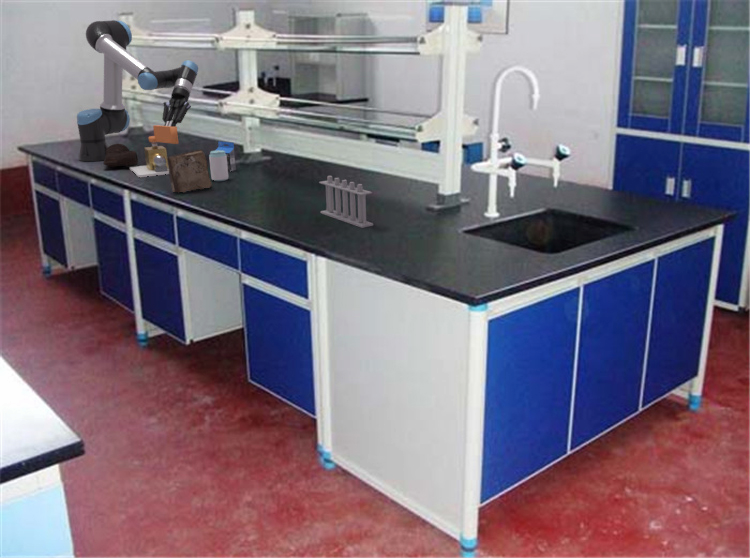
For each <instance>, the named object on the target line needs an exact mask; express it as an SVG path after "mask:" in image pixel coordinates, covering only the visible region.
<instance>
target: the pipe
mask: <svg viewBox="0 0 750 558" xmlns="http://www.w3.org/2000/svg"><path fill="white" fill-rule="evenodd" d="M102 164H103V165H105V166H106V167H108V168H117V167H120V166H121V167H122V166H123V167H135V166H138V164H139V159H138V154H137V152H136V151H135V150H130V149H129V147H127V145H124V144H122V143H115V144H111V145H108V148H107V149H106V158H105V160H103V163H102Z"/></svg>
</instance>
